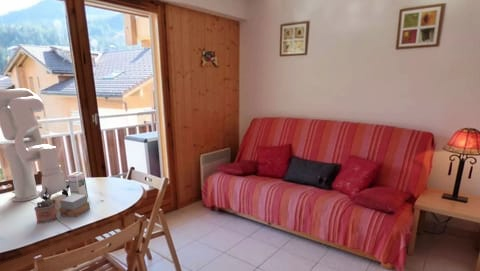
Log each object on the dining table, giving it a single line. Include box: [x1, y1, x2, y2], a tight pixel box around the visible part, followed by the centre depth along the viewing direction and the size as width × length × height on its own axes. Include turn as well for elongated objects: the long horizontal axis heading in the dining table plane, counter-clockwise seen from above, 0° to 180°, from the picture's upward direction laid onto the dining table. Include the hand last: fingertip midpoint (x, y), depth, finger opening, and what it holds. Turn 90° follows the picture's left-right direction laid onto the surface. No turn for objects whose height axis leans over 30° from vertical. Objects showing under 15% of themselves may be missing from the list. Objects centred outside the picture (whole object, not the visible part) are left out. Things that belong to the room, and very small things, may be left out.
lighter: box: [34, 199, 58, 225], centre depth 131 cm, size 8×3×10 cm, turn 114°
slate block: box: [60, 194, 88, 210], centre depth 138 cm, size 8×8×4 cm
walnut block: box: [59, 201, 91, 218], centre depth 139 cm, size 9×9×4 cm
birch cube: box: [50, 193, 66, 212], centre depth 144 cm, size 6×6×6 cm
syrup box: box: [67, 171, 89, 198], centre depth 154 cm, size 6×6×14 cm
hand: (58, 202), depth 144 cm, fingers open, 9 cm apart
